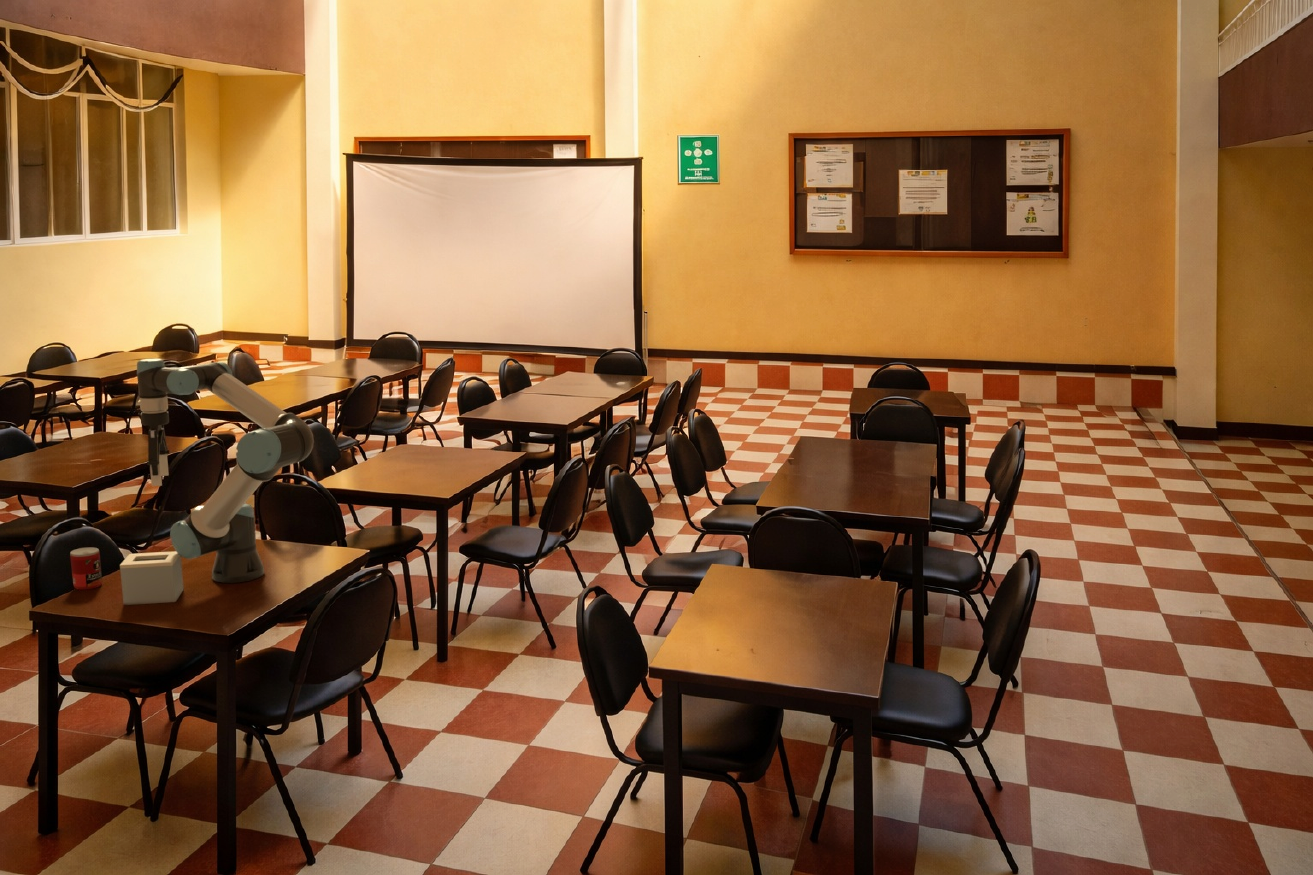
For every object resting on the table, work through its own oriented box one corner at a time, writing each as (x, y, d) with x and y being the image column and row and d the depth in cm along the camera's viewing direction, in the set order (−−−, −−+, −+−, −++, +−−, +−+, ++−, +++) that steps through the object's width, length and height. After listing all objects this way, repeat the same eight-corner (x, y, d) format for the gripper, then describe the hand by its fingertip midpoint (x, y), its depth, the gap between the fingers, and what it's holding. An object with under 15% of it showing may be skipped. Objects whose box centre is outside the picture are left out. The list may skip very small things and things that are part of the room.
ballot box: (183, 589, 327) (180, 551, 325) (175, 601, 317) (172, 562, 315) (133, 592, 325) (129, 553, 322) (123, 604, 314) (119, 565, 312)
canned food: (90, 590, 326) (87, 555, 324) (67, 588, 328) (63, 553, 326) (108, 582, 334) (104, 548, 331) (85, 580, 335) (81, 546, 333)
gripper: (147, 404, 335) (153, 472, 340) (133, 418, 312) (139, 490, 316) (173, 403, 337) (179, 470, 342) (161, 417, 314) (167, 489, 318)
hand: (160, 480), depth 329 cm, fingers open, 13 cm apart
